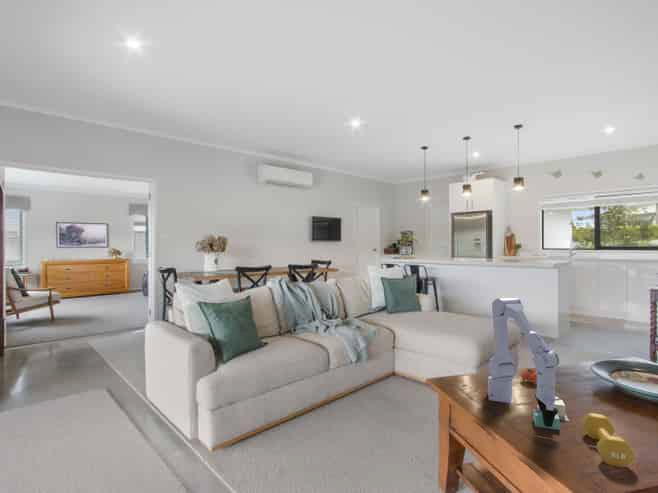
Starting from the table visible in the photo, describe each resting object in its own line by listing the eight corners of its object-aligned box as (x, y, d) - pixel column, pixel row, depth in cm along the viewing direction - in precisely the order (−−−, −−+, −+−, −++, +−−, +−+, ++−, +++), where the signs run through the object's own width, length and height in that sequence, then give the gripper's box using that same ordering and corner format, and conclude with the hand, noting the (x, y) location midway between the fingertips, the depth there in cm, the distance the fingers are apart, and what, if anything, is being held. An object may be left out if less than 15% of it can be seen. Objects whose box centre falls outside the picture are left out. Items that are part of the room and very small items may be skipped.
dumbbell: (636, 472, 101) (636, 445, 101) (599, 465, 104) (599, 438, 104) (611, 437, 118) (611, 414, 118) (580, 432, 122) (580, 409, 122)
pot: (525, 377, 170) (528, 364, 168) (541, 386, 163) (545, 373, 162) (515, 380, 166) (519, 367, 164) (531, 389, 159) (535, 376, 158)
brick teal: (535, 427, 125) (535, 415, 125) (532, 421, 130) (532, 409, 130) (559, 431, 123) (559, 419, 123) (556, 424, 127) (556, 412, 127)
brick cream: (542, 413, 134) (542, 402, 134) (540, 407, 139) (540, 396, 139) (565, 417, 131) (565, 405, 131) (562, 411, 136) (562, 400, 136)
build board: (541, 417, 132) (541, 416, 132) (536, 405, 141) (536, 404, 141) (569, 422, 128) (569, 420, 128) (562, 409, 138) (562, 408, 138)
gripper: (563, 394, 118) (563, 433, 118) (554, 378, 131) (554, 413, 131) (539, 390, 120) (539, 429, 121) (533, 375, 134) (533, 410, 134)
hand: (546, 420), depth 126 cm, fingers open, 7 cm apart
